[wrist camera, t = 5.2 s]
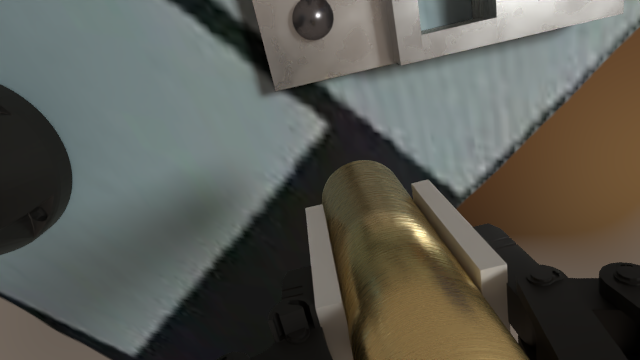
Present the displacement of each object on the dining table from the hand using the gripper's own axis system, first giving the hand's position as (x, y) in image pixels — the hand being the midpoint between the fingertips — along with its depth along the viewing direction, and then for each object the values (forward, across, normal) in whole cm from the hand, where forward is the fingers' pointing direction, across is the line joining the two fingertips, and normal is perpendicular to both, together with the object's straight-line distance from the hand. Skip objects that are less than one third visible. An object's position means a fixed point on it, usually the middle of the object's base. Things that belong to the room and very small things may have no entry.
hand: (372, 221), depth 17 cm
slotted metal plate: (+18, +10, +9) cm, 22 cm away
